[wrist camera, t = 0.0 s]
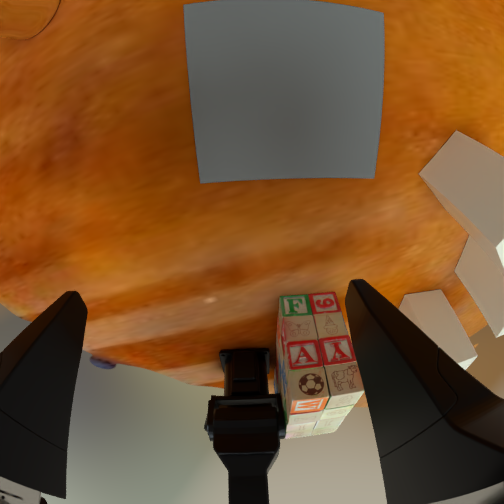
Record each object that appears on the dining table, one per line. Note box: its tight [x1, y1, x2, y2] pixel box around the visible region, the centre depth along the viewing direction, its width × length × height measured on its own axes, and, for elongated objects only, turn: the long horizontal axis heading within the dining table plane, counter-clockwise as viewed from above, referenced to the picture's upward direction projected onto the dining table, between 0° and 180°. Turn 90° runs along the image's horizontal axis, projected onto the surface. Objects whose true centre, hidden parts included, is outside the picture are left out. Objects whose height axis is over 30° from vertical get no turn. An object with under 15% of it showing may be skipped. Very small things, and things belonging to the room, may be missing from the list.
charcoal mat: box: [184, 0, 384, 183], centre depth 17 cm, size 14×14×1 cm
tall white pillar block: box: [454, 235, 504, 337], centre depth 23 cm, size 6×6×11 cm
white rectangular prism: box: [419, 130, 504, 276], centre depth 17 cm, size 6×6×11 cm
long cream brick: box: [399, 289, 477, 370], centre depth 28 cm, size 6×6×11 cm
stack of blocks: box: [274, 292, 364, 439], centre depth 31 cm, size 21×6×12 cm, turn 2°
